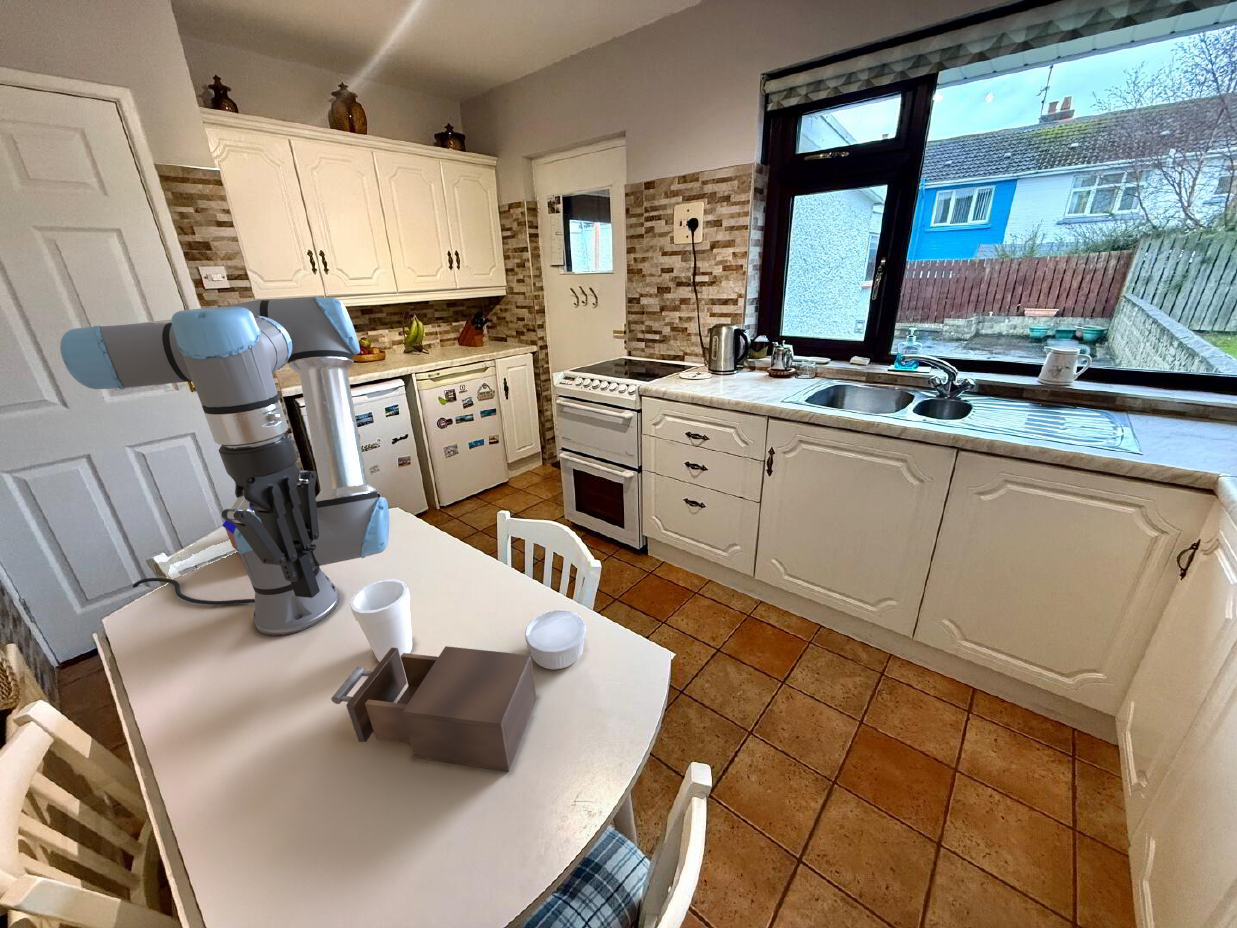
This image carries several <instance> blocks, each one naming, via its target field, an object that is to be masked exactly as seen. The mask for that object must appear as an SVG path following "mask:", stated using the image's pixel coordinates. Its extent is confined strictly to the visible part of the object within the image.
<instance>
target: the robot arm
mask: <svg viewBox="0 0 1237 928" xmlns="http://www.w3.org/2000/svg"><path fill="white" fill-rule="evenodd" d="M59 351H60V355H61V359H62V361H63V363H64V365H65V369H66V371H68V373H69V374H70V375H71V376H72V378H73V379H74V380H75V381H76V382H78V383H79V385H82V386H84V387H86V388H88V389H92V390H111V389H118V390H125V389H128V388H138V387H148V386H157V385H168V384H178V383H193V386H194V389H195V392H196V395H197V397H198V399H199V401H200V404H201V407H202V410H203V414H204V416H205V419H206V421H207V424H208V427H209V430H210V433H211V435H212V439H213V441H214V443H215V444H216V445H219V446H220V447H219V449H218V453H219V455H220V458H221V461H222V464H223V466H224V470H225V472H226V473H227V475H228V476H229V477H230V478H231V479H232V480H233V481H234V485H235V488H234V495H235V497H236V500H235V502H234V503H233V505H232V507H231V508H225V509H223V510H222V512H221V517H222V519H224V521H226V520H227V521H229V522H230V523H232V524H234V525H235V526H236V529H235V531H234V538H235V542H236V545H237V550H236V552H237V554H239V557H240V559H241V561H242V564H243V566H244V569H245V571H246V574H247V576H248V578H249V581H250V584H251V586H252V588H253V591H254V598H244V599H230V600H229V599H227V600H205V599H197V598H193V597H190V596H187V595H186V594H183V593H182V592H181V585H180V584H179V582H178V580H175V579H171V578H167V577H166V578H165V577H147V578H143V579H140V580H137V581H136V582H134V583H133V584H132V589H133V588H137V587H138V586H140V585H141V584H144V583H147V582H149V583H151V582H161V583H169V584H172V585H173V586H174V592H175V595H176V596H177V597H178V598H180V599H181V600H184V601H185V602H188V603H193V604H200V605H211V606H214V605H215V606H223V605H238V604H254V611H253V622H254V624H255V628H256V629H257V631H258V632H259V633H261V634H263V635H266V636H285V635H290V634H294V633H298V632H300V631H303V630H306V629H308V628H310V627H313V626H315V625H316V624H318V623H320V622H322V621H323V620H325V619H326V618H327V617H328V616H330V615H331V614H332V613H333V612H334V611H335V609H336V608H337V607H338V605H339V603H340V593H339V590H338V588H337V586H336V585H335V584H334V582H332V579H331V578H330V577H328V576H327V574H326V573H324V572H323V570H322V569H321V566H327V565H331V564H337V563H342V562H345V561H346V562H347V561H351V560H357V559H365V558H366V557H371V556H373V555H378V554H382V553H383V552H384V551H385V550H386V548H387V547H388V545H389V540H390V510H389V505H388V504H389V502H388V500H387V498H386V497H382V496H380V497H379V495H378V490H377V489H376V488H375V487H373V486H372V485H370V484H369V483H368V478H367V473H366V467H365V462H364V457H363V451H362V445H361V440H360V439H361V438H360V435H359V428H358V423H357V418H356V412H355V406H354V402H353V395H352V391H351V384H350V380H349V371H350V369H351V368H352V367H353V366H354V364H355V362H354V361H355V360H354V356H356V355H358V354H360V353H361V348H360V342H359V340H358V336H357V333H356V330H355V327H354V324H353V322H352V319H351V317H350V315H349V312H348V310H347V308H346V306H345V304H344V303H343V302H342V301H341V300H340V299H338V298H335V297H317V296H313V297H306V298H305V297H303V298H301V297H300V298H282V299H267V300H266V299H261V300H260V299H259V300H250V301H249V300H248V301H244V302H243V301H242V302H240V303H235V304H229V305H225V306H216V307H202V308H193V309H183V310H179V311H176V312H174V314H172V316H171V319H164V320H155V321H144V322H139V323H138V322H137V323H129V324H118V325H116V324H115V325H93V326H88V327H78V328H72V329H70V330H67V331H66V332H65V333H64V334H63V335H62V336H61V340H60V344H59ZM286 364H287V365H288V367H289V368H290V369H291V370H292V371H294V372H296V373H297V374H298V375H299V380H300V385H301V391H302V397H303V402H304V408H305V413H306V418H307V422H308V423H307V424H308V428H309V433H310V439H311V444H312V450H313V457H314V460H315V468H316V471H315V470H301V469H300V467H299V465H298V464H297V461H298V459H299V456H298V454H297V450H296V447H295V443H294V440H293V437H292V435H291V434H289V433H287V431H288V430H289V425H288V421H287V418H286V416H285V412H284V409H283V406H282V403H281V399H280V396H279V394H278V389H277V386H276V383H275V380H274V375H273V373H275V372H277V371H279V370H281V368H282V369H283V368H284V366H286ZM317 478H318V483H319V488H320V491H319V493H318V494H317V495H316V482H317ZM250 506H251V507H253V509H254V511H252V509H251V508H250Z"/></svg>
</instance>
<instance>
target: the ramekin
mask: <svg viewBox="0 0 1237 928" xmlns="http://www.w3.org/2000/svg"><path fill="white" fill-rule="evenodd" d="M586 635H587V625H586V622H585V620H584V619H583V618H582V617H581V615H579V614H578V613H576V612H574V611H572V610H568V609H567V610H566V609H554V610H548V611H546V612H543V613H541V614H539V615H537V616H535V617H534V618H533V619H532V620H531V621H529V623H528V624H527V626H526V628H525V631H524V639H525V642H526V645H527V647H528V649H529V653H530V655H531V659H533V661H534V662H535V663H536V664H537V665H538V666H540V667H542V668H545V669H548V670H562V669H565V668H567V667H570V666H571V665H573V664H574V663H575V662H577V661H578V660H579V659H580V657H581V656H582V654H583V651H584V647H585V638H586Z"/></svg>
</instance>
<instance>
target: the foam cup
mask: <svg viewBox="0 0 1237 928" xmlns="http://www.w3.org/2000/svg"><path fill="white" fill-rule="evenodd" d="M410 601H411V595H410V591H409V586H407V584H406V582H405V581H402V580H399V579H397V578H393V579H392V578H391V579H389V578H388V579H380V580H377V581H374V582H371V583H369V584H367V585H365V586H363V587H361V588H360V589H359V590H358V591H357V592H355V593H354V595H352V597H351V599H350V602H349V606H350V610H351V613H352V616H353V618H354V619H355V621H356V622H357V623H358V625H359V626H360V628H361V630H362V633H363V635H364V637H365V638H366V640H367V642H368V644H369V646H370V649H371V650H372V652H373V654H374V656H375V658H376V660H377V662H379V663H380V661H381V660H382V659H383V658H384V656H385V655H386V654H387V653H388V651H389V650H390V649H391V648H398V650H399V654H400V658H401V655H402V654H403V653H409V654H411V651H412V650H413V634H412V633H413V632H412V619H411V606H410Z"/></svg>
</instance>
